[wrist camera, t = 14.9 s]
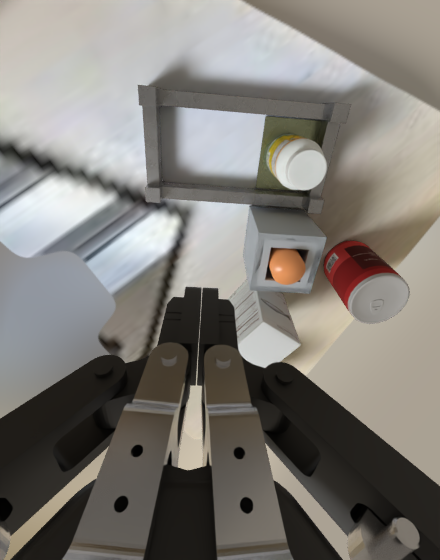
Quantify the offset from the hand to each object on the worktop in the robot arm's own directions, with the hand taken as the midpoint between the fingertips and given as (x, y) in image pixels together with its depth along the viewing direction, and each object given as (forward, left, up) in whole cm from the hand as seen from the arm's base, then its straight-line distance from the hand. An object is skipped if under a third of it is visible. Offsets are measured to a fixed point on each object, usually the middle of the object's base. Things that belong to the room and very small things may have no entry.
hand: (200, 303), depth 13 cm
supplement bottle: (+10, +3, -29) cm, 31 cm away
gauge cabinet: (+10, -8, -29) cm, 32 cm away
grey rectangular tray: (+4, +3, -29) cm, 29 cm away
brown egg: (+10, -8, -24) cm, 27 cm away
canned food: (+23, -12, -29) cm, 39 cm away
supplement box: (+9, -20, -29) cm, 37 cm away
